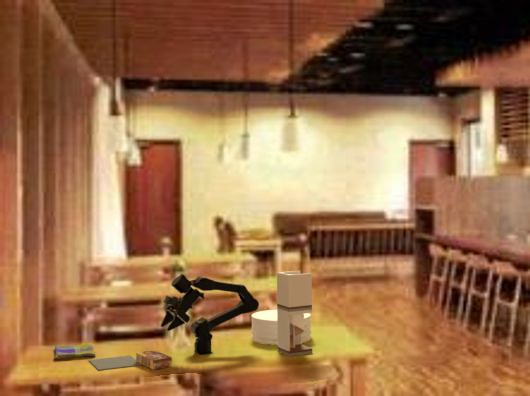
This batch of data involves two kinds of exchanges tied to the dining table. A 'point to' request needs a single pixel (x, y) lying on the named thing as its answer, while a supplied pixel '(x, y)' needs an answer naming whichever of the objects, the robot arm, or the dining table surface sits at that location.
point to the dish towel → (74, 352)
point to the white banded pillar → (293, 310)
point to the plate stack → (273, 327)
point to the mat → (114, 362)
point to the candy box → (154, 359)
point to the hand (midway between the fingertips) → (164, 328)
